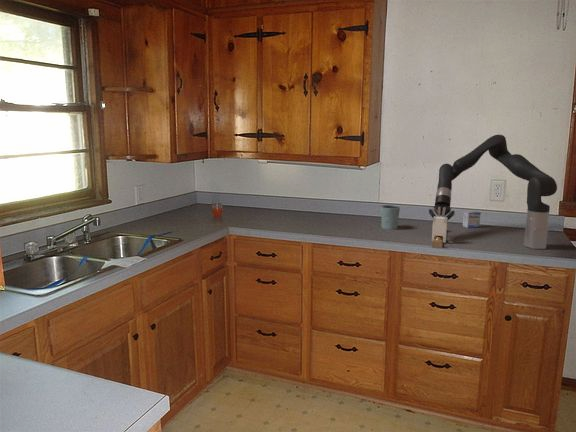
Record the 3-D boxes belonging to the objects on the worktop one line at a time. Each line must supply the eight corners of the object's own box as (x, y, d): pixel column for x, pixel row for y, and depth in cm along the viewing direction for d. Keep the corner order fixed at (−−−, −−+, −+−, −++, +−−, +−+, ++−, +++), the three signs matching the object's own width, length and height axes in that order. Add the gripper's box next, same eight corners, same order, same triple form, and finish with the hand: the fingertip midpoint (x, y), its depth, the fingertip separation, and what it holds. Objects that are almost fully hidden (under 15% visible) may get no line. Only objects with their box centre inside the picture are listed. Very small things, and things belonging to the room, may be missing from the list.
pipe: (437, 230, 271) (438, 224, 270) (454, 231, 268) (455, 225, 267) (432, 247, 236) (432, 240, 235) (451, 249, 233) (451, 242, 232)
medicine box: (467, 228, 275) (468, 212, 274) (462, 226, 280) (463, 211, 278) (479, 227, 278) (480, 212, 276) (474, 225, 282) (475, 210, 280)
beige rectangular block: (432, 239, 249) (433, 216, 247) (445, 240, 247) (447, 217, 245) (431, 241, 245) (433, 218, 242) (445, 242, 242) (446, 219, 240)
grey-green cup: (385, 230, 269) (386, 208, 267) (376, 226, 279) (377, 205, 276) (402, 229, 272) (403, 207, 269) (393, 225, 281) (394, 204, 279)
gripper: (456, 203, 257) (453, 232, 248) (430, 201, 261) (426, 229, 253) (457, 194, 251) (454, 223, 242) (429, 193, 255) (425, 221, 247)
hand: (439, 226), depth 247 cm, fingers closed
